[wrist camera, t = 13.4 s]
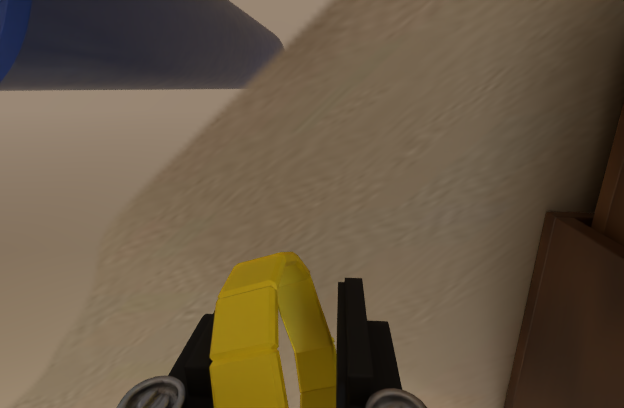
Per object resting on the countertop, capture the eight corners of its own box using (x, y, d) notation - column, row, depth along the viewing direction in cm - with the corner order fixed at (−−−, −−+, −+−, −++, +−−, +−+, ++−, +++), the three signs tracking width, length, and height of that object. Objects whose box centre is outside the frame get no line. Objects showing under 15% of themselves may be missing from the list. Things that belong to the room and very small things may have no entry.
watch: (365, 366, 13) (388, 597, 7) (291, 381, 13) (257, 609, 7) (312, 215, 11) (288, 361, 5) (230, 238, 11) (124, 396, 6)
